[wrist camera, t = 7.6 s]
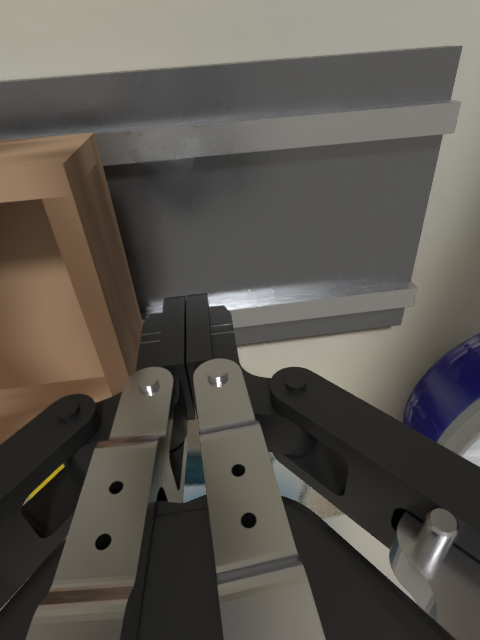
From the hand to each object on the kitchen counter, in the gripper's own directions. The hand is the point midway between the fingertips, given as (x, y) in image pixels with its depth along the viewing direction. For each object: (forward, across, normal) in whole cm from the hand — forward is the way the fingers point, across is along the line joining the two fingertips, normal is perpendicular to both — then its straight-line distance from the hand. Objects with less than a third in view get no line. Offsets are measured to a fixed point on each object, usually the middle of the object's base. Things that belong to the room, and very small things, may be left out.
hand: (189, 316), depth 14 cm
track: (+8, +2, 0) cm, 8 cm away
